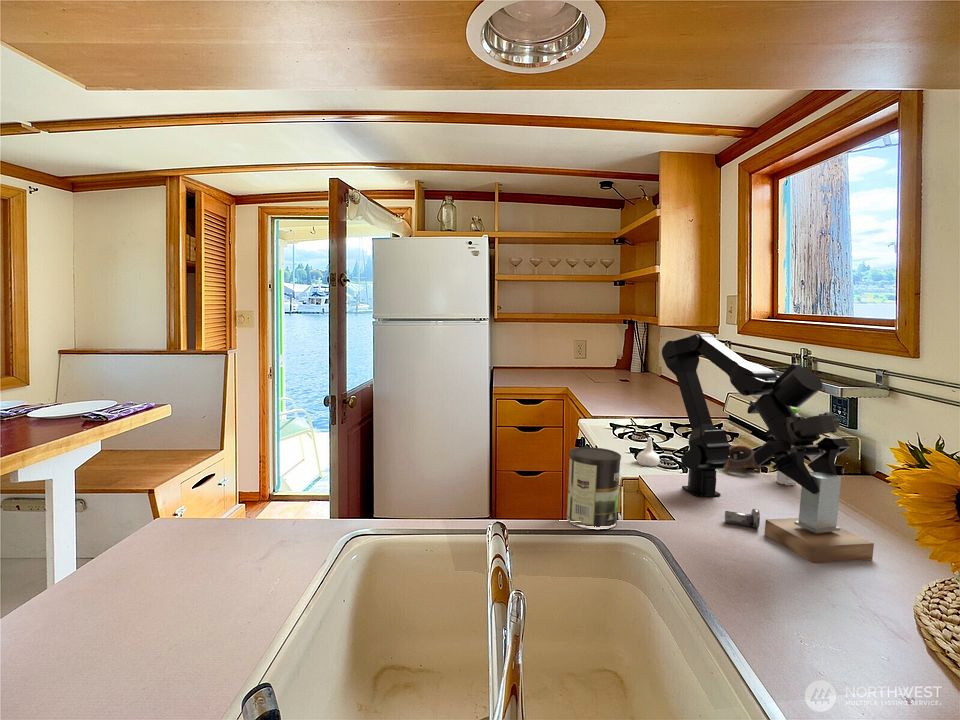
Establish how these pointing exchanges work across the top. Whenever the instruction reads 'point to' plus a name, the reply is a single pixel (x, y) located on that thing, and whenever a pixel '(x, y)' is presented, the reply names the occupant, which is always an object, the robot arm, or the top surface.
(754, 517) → the bolt
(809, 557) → the stand
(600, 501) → the coffee can
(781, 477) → the bottle
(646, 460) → the garlic bulb
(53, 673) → the top surface
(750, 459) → the pottery mug
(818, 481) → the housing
